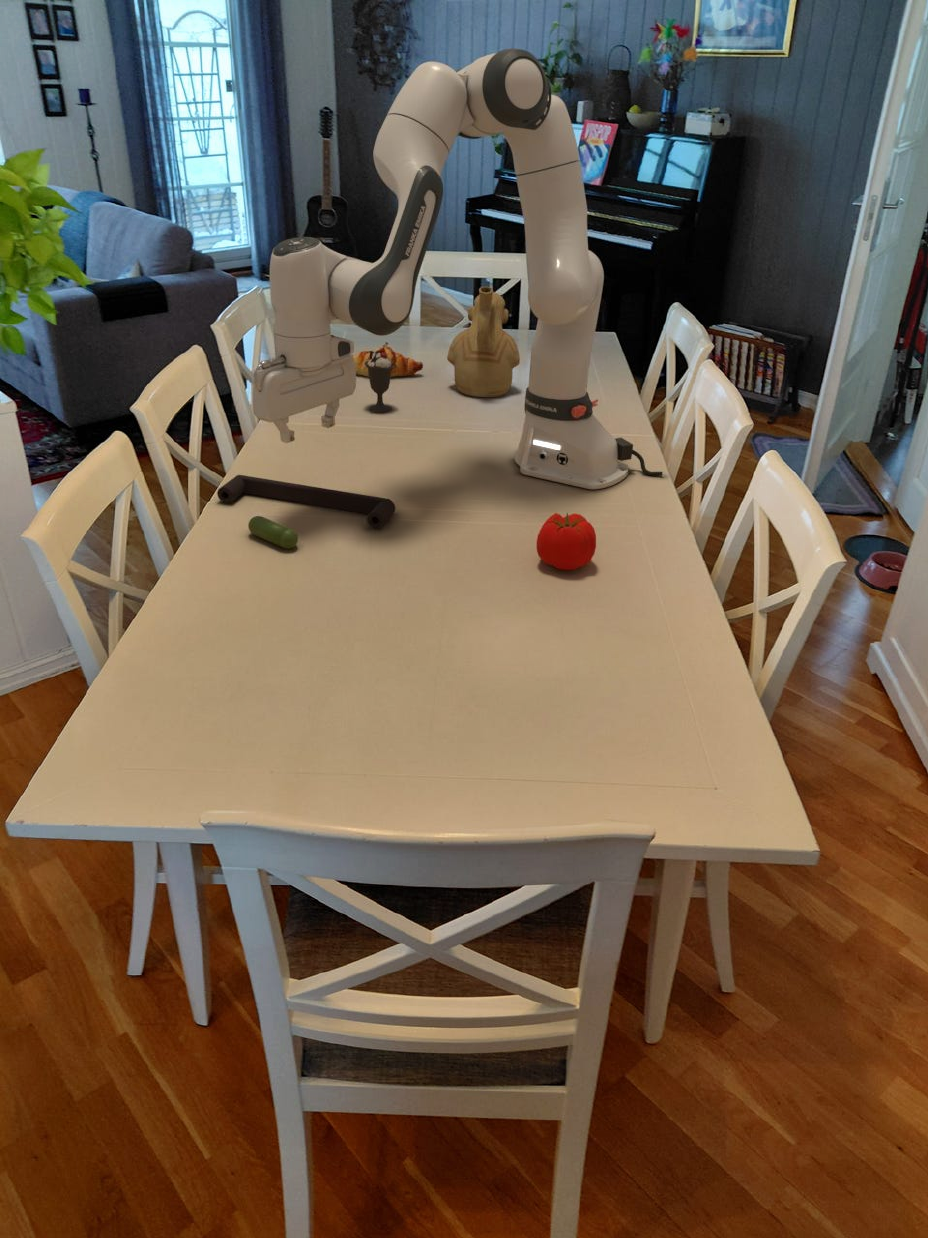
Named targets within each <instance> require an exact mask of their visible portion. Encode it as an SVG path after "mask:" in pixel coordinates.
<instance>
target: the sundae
mask: <svg viewBox="0 0 928 1238" xmlns="http://www.w3.org/2000/svg"><path fill="white" fill-rule="evenodd" d="M382 346H383V347H384V348H385V346H389V342H387V341H385V344H384V345H382ZM384 348H381V349H380V350H378V351H375V352H373V351H374V350H369V351H370V359H369V361H366V362H365V363H364V364H365V366H366V367H367V368H368V373H369V377H368V381H369V385H370V388H371V390H372V391H373V393H375V394H376V396H377V399H376V403H375V404H372V405H370V406H369V407H368V410H369V412H373V413H379V414H380V413H387V412H390V411H391V410H392V408H391V406H389V405H386V404H385V403H384V399H383V395H384V393H386V392H387V391H388V390H389V388H390V384H391V378H392V377H391V371H392V368H393V367H394V366H395V365H396V364H395V363H393V362H391V361H390V359H389V358H388V355H387V353H386V352H385V349H384Z"/></svg>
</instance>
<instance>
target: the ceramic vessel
mask: <svg viewBox="0 0 928 1238" xmlns="http://www.w3.org/2000/svg"><path fill="white" fill-rule="evenodd" d="M478 293H479V294H478V295H477V296H476V297H475V299H474V300H473V303H474V305H471V306H469V308H468V311H467V318H468V321H469V322H471V324H470V326H469V327H468V328H466V329H464V330H462V331H460V332H459V333H457V335H456V336H455V337H454V338H453V339H452V342H451V343H450V345H449V348H448V351H447V357H446V359H447V362H449V363H450V364H451V365H452V366H453V369H454V370H453V371H454V372H453V373H454V375H453V376H454V384H455V387H456V389H457V390H458V391H459V392H460V393H462V394H463V395H467V396H469V397H477V398H499V397H501V396H504V395H505V394H507V393H508V392H509V390H510V389H511V387H512V384H513V373H514V372H513V371H514V370H513V369H514V368H516V367H518V366H519V365H520V362H521V359H520V352H519V348H518V345H517V343H516V340H515V339H514V337H513V336H512V335H510V333H507V332H506V331H505V330H504V329H503V325H505V324H507V322H508V321H509V310H508V309H507V308H505V306H506V301H505V299H504V298H503V296H502V295H500V294H499V293H497V292H495V291H494V290H493V288H492V287H491V286H481V287H479V288H478Z"/></svg>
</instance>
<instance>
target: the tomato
mask: <svg viewBox="0 0 928 1238" xmlns="http://www.w3.org/2000/svg"><path fill="white" fill-rule="evenodd" d="M536 537H537V538H536V553H537V555H538V558H539V559H541V561H542V562H543V563H544V564H545V565H549V566H552V567H554V568H556V569H558V570H563V571H574V570H577V569H578V568H581V567H586V566H587V565H589V563H590V562H591V560H592V559H593V557H594V555H595V552H596V549H597V534H596V530H595V528H594V526H593V525H592V523H591V522H589V521H588V520H587V518H586V517H585V516H583V515H582V514H580V513H572V514H569V513H568V512H566V514H565V516H562V515H561V514H560V513H558V512H555V513H553V514H552V515H550V516H549V517H548V518H547V519H546V521H545V522H544V523H543V524H542V526H541V528H540V530H539V531H538V533H537V536H536Z"/></svg>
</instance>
